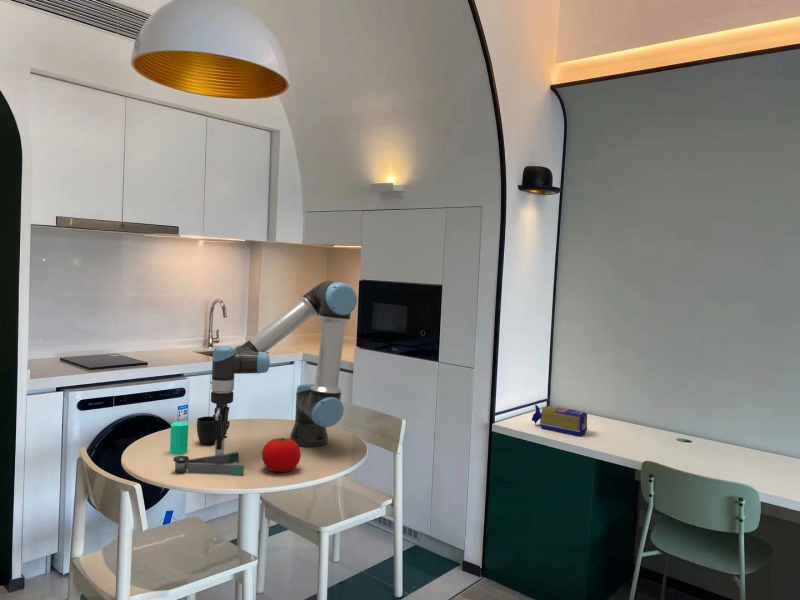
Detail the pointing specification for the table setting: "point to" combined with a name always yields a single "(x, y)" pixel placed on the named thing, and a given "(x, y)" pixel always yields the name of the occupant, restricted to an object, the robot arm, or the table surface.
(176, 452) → the candle
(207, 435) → the mug
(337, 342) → the robot arm
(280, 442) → the tomato
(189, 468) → the tongs fixed
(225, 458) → the bar
